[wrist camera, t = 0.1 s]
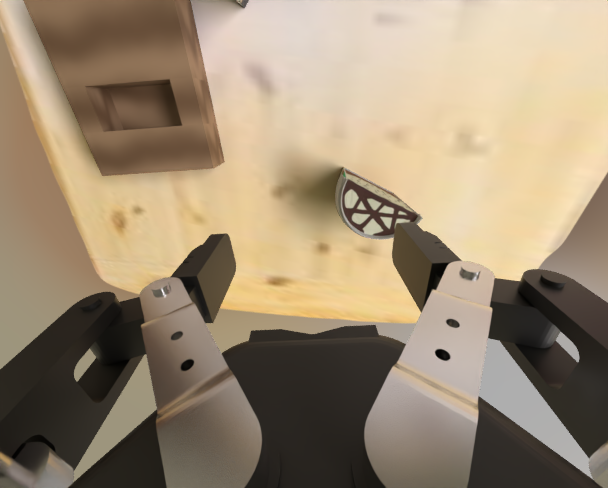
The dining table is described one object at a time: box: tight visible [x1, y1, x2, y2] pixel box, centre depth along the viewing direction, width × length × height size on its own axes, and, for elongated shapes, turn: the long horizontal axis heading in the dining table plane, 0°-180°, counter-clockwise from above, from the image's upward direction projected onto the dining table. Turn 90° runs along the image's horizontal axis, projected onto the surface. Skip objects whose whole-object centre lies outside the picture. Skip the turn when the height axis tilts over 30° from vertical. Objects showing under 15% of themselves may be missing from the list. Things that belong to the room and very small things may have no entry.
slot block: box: [24, 0, 224, 176], centre depth 32 cm, size 20×16×5 cm
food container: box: [335, 167, 422, 239], centre depth 36 cm, size 12×6×10 cm, turn 64°
